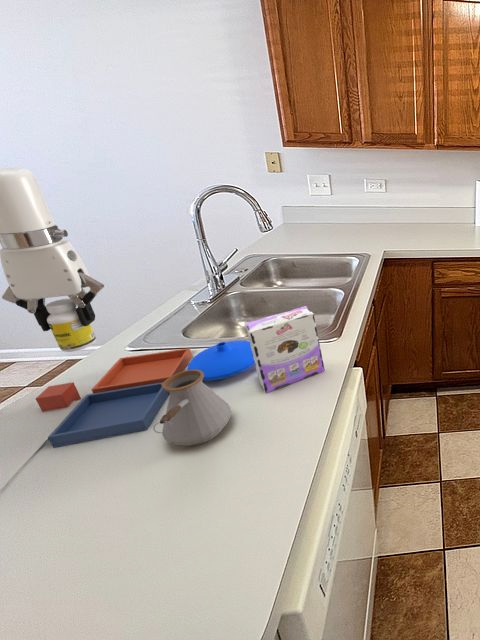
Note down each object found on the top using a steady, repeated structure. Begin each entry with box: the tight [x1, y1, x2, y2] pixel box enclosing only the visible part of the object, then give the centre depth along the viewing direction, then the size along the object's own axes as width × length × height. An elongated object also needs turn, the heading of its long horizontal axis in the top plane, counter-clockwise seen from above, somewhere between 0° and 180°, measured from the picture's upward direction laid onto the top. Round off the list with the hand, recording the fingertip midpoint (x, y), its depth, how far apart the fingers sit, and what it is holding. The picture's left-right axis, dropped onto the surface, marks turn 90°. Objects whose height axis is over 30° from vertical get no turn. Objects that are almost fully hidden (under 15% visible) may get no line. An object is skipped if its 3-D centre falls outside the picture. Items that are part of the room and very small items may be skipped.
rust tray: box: [91, 347, 193, 394], centre depth 97 cm, size 15×13×3 cm
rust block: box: [35, 382, 82, 412], centre depth 86 cm, size 4×4×4 cm
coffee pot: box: [153, 369, 232, 447], centre depth 73 cm, size 21×12×15 cm, turn 25°
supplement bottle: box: [45, 298, 97, 353], centre depth 79 cm, size 5×5×10 cm
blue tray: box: [47, 382, 170, 449], centre depth 84 cm, size 15×13×3 cm
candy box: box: [244, 305, 325, 394], centre depth 94 cm, size 14×6×16 cm, turn 130°
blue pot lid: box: [187, 340, 255, 381], centre depth 99 cm, size 16×16×7 cm
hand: (69, 324), depth 79 cm, fingers closed on supplement bottle, 5 cm apart
